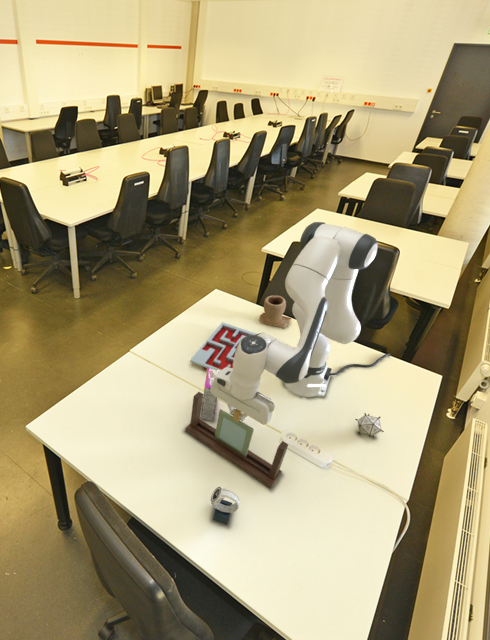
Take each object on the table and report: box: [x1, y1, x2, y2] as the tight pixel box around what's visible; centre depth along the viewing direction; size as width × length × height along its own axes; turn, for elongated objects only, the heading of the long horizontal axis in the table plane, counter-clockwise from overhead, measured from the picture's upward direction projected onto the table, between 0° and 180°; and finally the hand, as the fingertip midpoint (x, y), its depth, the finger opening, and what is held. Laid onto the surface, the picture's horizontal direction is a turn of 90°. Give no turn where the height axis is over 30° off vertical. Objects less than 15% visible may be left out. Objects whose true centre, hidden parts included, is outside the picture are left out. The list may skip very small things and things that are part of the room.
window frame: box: [184, 391, 289, 490], centre depth 129 cm, size 7×34×17 cm, turn 48°
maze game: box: [189, 321, 257, 371], centre depth 178 cm, size 35×20×3 cm, turn 148°
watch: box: [210, 486, 240, 526], centre depth 113 cm, size 6×8×11 cm
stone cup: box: [258, 294, 292, 329], centre depth 194 cm, size 15×12×15 cm
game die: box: [355, 412, 384, 438], centre depth 140 cm, size 9×8×10 cm
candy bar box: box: [200, 368, 220, 422], centre depth 145 cm, size 11×5×16 cm, turn 168°
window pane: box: [215, 408, 255, 457], centre depth 128 cm, size 1×12×18 cm, turn 48°
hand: (236, 416), depth 124 cm, fingers closed on window pane, 2 cm apart
